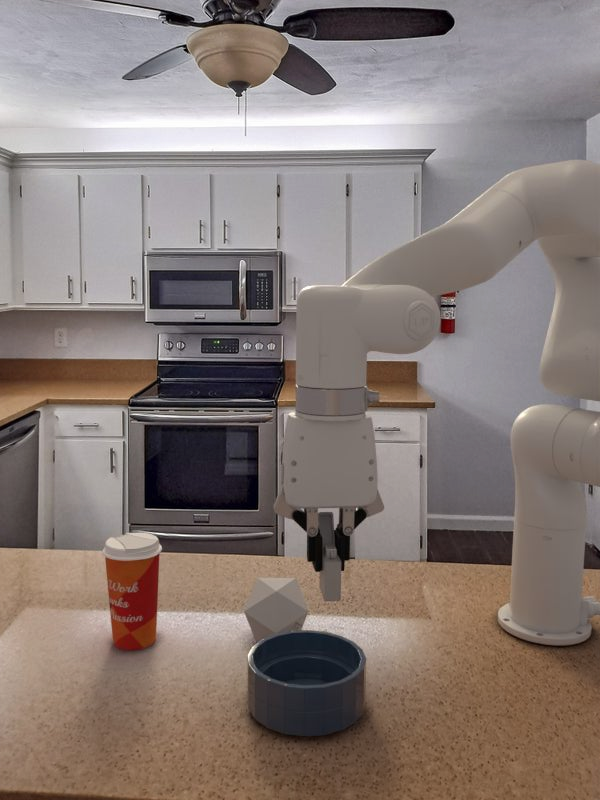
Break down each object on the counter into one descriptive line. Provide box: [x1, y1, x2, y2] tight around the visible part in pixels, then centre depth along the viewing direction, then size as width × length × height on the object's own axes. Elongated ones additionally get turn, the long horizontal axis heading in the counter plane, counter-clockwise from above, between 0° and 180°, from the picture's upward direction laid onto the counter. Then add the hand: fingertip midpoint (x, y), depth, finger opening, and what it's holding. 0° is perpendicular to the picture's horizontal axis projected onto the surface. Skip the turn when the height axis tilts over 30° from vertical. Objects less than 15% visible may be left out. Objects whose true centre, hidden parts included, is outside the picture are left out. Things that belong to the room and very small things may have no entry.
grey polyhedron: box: [243, 577, 309, 644], centre depth 99 cm, size 8×9×10 cm
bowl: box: [247, 629, 367, 737], centre depth 83 cm, size 13×13×6 cm
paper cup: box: [101, 532, 163, 651], centre depth 97 cm, size 8×8×14 cm
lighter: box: [318, 511, 342, 602], centre depth 81 cm, size 7×2×8 cm, turn 7°
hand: (327, 566), depth 81 cm, fingers closed on lighter, 1 cm apart
